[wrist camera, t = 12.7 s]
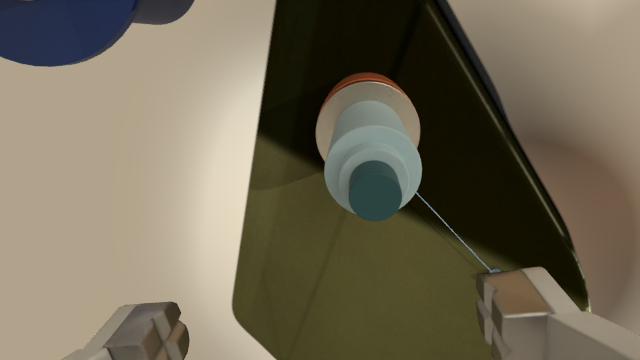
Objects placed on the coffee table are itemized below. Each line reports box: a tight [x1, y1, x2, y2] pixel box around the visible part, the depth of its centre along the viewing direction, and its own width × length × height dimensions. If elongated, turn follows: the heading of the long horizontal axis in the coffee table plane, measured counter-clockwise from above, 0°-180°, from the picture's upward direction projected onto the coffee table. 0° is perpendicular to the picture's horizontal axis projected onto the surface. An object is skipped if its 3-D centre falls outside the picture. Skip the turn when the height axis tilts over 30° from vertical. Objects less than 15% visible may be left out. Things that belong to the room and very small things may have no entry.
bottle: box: [324, 101, 422, 221], centre depth 23 cm, size 6×6×12 cm
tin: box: [316, 72, 420, 161], centre depth 33 cm, size 9×9×9 cm
